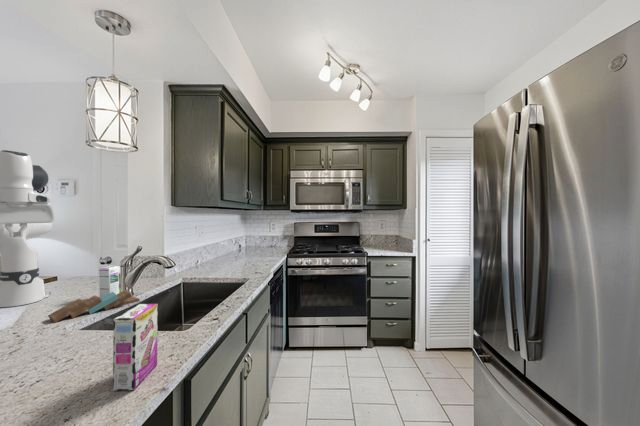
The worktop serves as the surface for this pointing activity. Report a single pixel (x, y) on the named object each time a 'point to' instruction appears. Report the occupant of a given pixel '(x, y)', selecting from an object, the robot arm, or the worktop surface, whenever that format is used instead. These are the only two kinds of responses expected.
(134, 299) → the domino
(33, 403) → the worktop surface
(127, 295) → the domino
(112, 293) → the domino
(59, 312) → the domino
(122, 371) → the candy bar box
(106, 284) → the syrup box
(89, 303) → the domino
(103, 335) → the worktop surface
